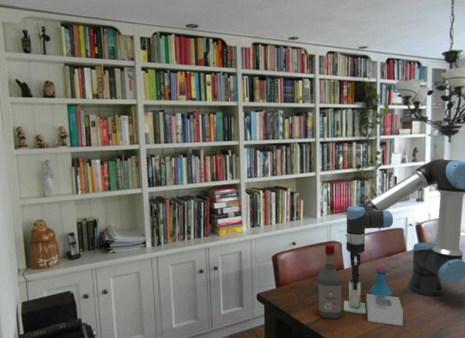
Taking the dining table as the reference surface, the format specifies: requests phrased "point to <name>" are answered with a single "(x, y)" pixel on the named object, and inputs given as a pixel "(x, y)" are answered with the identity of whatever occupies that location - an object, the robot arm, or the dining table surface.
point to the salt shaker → (352, 299)
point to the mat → (354, 308)
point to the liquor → (329, 288)
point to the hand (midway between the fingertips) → (354, 293)
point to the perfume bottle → (380, 284)
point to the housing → (384, 309)
